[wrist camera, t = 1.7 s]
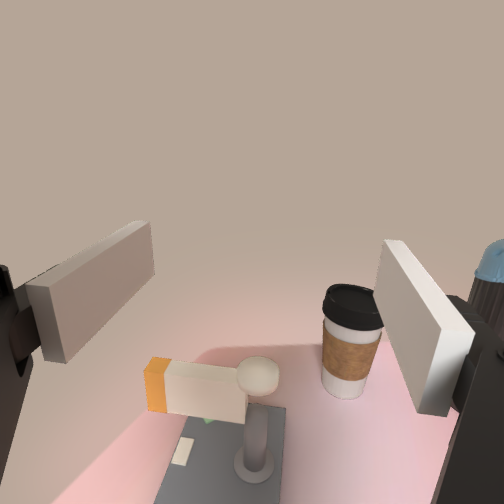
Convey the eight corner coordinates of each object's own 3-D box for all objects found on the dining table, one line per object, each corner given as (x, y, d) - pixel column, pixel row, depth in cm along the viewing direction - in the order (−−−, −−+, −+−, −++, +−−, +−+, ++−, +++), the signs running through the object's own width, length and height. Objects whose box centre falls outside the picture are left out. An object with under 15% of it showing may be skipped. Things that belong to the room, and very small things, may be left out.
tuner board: (285, 406, 45) (286, 397, 44) (274, 566, 29) (275, 556, 28) (200, 393, 46) (199, 385, 46) (143, 539, 30) (142, 529, 30)
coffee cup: (312, 361, 53) (323, 277, 47) (367, 368, 52) (384, 283, 46) (313, 402, 45) (325, 308, 40) (377, 411, 44) (399, 316, 39)
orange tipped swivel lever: (274, 447, 37) (280, 358, 33) (270, 482, 34) (277, 389, 29) (164, 429, 39) (155, 343, 34) (149, 461, 35) (138, 370, 31)
